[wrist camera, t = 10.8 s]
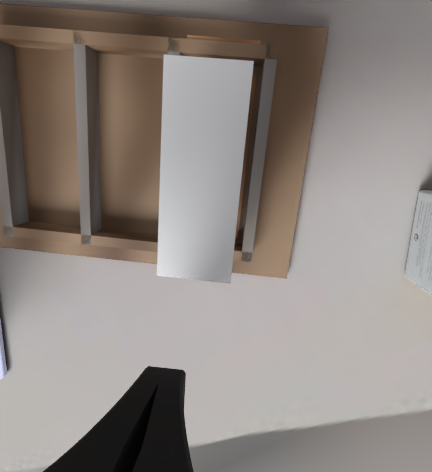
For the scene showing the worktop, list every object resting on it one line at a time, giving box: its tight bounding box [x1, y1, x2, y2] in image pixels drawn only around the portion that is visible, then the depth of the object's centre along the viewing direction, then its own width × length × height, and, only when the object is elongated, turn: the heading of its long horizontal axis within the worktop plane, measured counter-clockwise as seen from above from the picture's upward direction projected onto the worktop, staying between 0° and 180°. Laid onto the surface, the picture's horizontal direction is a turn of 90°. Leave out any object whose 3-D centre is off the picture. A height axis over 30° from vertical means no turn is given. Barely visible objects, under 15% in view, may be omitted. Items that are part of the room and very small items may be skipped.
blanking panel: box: [157, 55, 254, 283], centre depth 15 cm, size 3×8×7 cm, turn 175°
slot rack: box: [0, 4, 328, 279], centre depth 18 cm, size 20×14×2 cm
